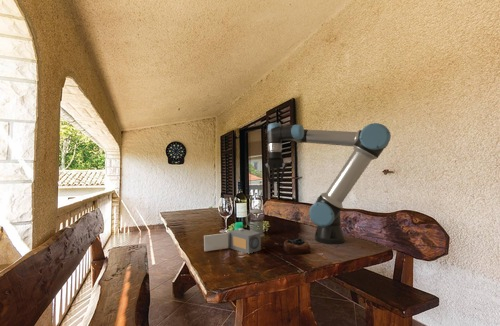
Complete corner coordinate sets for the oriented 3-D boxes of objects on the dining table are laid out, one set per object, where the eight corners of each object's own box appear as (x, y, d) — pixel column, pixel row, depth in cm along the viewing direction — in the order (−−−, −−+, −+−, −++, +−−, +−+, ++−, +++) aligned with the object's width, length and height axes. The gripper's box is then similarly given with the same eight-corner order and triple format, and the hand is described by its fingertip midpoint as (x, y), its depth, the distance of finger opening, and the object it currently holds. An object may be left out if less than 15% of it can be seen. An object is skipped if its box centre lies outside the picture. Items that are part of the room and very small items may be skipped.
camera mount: (253, 243, 127) (252, 223, 127) (238, 244, 125) (238, 224, 125) (246, 237, 138) (246, 219, 139) (233, 238, 136) (233, 220, 137)
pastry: (281, 248, 118) (280, 236, 118) (304, 246, 119) (304, 234, 120) (287, 255, 107) (287, 242, 107) (313, 254, 109) (313, 240, 109)
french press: (259, 237, 137) (259, 193, 138) (242, 235, 143) (241, 192, 144) (267, 233, 145) (266, 192, 146) (250, 231, 151) (250, 191, 152)
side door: (204, 251, 112) (204, 236, 113) (203, 250, 114) (203, 235, 115) (230, 247, 118) (230, 233, 118) (229, 246, 119) (229, 232, 120)
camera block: (263, 250, 114) (262, 231, 114) (250, 254, 108) (250, 235, 109) (240, 244, 125) (240, 227, 125) (228, 247, 119) (228, 229, 119)
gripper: (262, 151, 129) (263, 196, 128) (287, 150, 127) (288, 195, 126) (263, 152, 136) (264, 194, 135) (286, 152, 135) (287, 194, 134)
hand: (275, 195), depth 131 cm, fingers closed
